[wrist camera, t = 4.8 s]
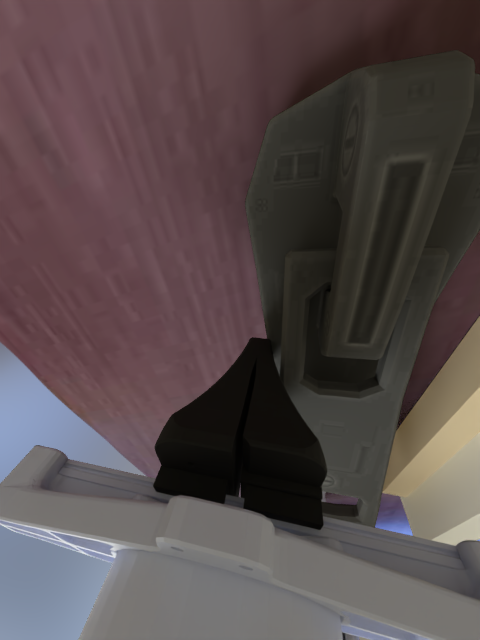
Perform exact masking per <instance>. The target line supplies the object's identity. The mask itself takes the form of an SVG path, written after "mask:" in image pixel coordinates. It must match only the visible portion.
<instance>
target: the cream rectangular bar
mask: <svg viewBox="0 0 480 640" xmlns="http://www.w3.org/2000/svg"><path fill="white" fill-rule="evenodd" d="M382 493H386V494H391V495H396V496H400V498H401V501H402V504H403V507H404V510H405V513H406V516H407V518H408V521H409V524H410V527H411V530H412V533H413V536H414V537H419V538H423V539H428V540H432V541H437V542H441V543H446V544H450V545H454V546H456V545H457V544H458V543H460V542H462V541H465V540H474V541H476V540H479V539H480V316H479V318H478V319H477V320H476V322H475V323H474V324H473V326H472V327H471V329H470V330H469V331H468V333H467V334H466V335H465V337H464V338H463V340H462V341H461V342H460V344H459V345H458V346H457V348H456V349H455V351H454V352H453V353H452V355H451V356H450V358H449V359H448V360H447V362H446V363H445V364H444V366H443V367H442V369H441V370H440V371H439V373H438V374H437V375H436V377H435V378H434V380H433V381H432V382H431V384H430V385H429V386H428V388H427V389H426V391H425V392H424V393H423V395H422V396H421V398H420V399H419V400H418V402H417V403H416V404H415V406H414V407H413V409H412V410H411V411H410V413H409V414H408V415H407V417H406V418H405V420H404V421H403V422H402V424H401V425H400V426H399V428H398V429H397V431H396V433H395V437H394V442H393V446H392V451H391V455H390V460H389V464H388V469H387V473H386V477H385V482H384V486H383V491H382Z"/></svg>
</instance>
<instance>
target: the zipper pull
mask: <svg viewBox="0 0 480 640" xmlns="http://www.w3.org/2000/svg"><path fill="white" fill-rule="evenodd" d="M245 208H246V214H247V220H248V225H249V231H250V237H251V242H252V248H253V254H254V259H255V265H256V271H257V277H258V284H259V290H260V296H261V303H262V309H263V315H264V321H265V328H266V334H267V339H270V340H271V347H272V353H273V357H274V361H275V364H276V367H277V370H278V373H279V375H280V378H281V380H282V383H283V385H284V387H285V389H286V391H287V393H288V395H289V397H290V399H291V400H292V402H293V404H294V405H295V407H296V409H297V410H298V412H299V413H300V415H301V417H302V418H303V419H304V421H305V422H306V424H307V425H308V426H309V428H310V429H311V431H312V432H313V433H314V434H315V436H316V437H317V438H318V440H319V442H320V445H321V448H322V450H323V453H324V457H325V461H326V465H327V476H326V478H325V480H324V482H323V484H322V491H323V492H328V493H334V494H340V495H345V496H350V497H355V498H359V499H358V502H357V505H346V504H332V503H327V502H322V501H321V503H322V513H323V516H325V517H329V518H334V519H338V520H343V521H347V522H352V523H356V524H361V525H365V526H370V527H374V528H375V524H376V520H377V516H378V511H379V507H380V501H381V495H382V491H383V486H384V482H385V477H386V473H387V469H388V464H389V460H390V455H391V451H392V446H393V442H394V437H395V433H396V428H397V424H398V419H399V415H400V411H401V406H402V402H403V397H404V394H405V391H406V388H407V385H408V382H409V379H410V376H411V372H412V369H413V366H414V363H415V360H416V357H417V354H418V351H419V348H420V345H421V342H422V338H423V335H424V332H425V329H426V326H427V323H428V320H429V317H430V314H431V311H432V308H433V305H434V303H435V302H436V300H437V298H438V297H439V295H440V293H441V292H442V290H443V288H444V287H445V285H446V284H447V282H448V280H449V279H450V277H451V275H452V274H453V272H454V270H455V269H456V267H457V265H458V264H459V262H460V261H461V259H462V257H463V256H464V254H465V253H466V251H467V249H468V248H469V246H470V245H471V243H472V241H473V240H474V238H475V237H476V235H477V233H478V232H479V230H480V74H476V73H475V63H474V60H473V59H472V58H470V57H469V56H467V55H465V54H464V53H462V52H460V51H458V50H455V51H449V52H443V53H438V54H432V55H426V56H421V57H415V58H409V59H404V60H398V61H393V62H387V63H381V64H376V65H371V66H367V67H362V68H358V69H355V70H353V71H351V72H349V73H348V74H346V75H344V76H343V77H341V78H339V79H338V80H336V81H334V82H333V83H331V84H329V85H328V86H326V87H324V88H322V89H321V90H319V91H317V92H316V93H314V94H312V95H310V96H309V97H307V98H305V99H304V100H302V101H300V102H298V103H297V104H295V105H293V106H292V107H290V108H288V109H286V110H285V111H283V112H281V113H280V114H278V115H276V116H274V117H273V118H272V119H271V120H270V121H269V123H268V125H267V128H266V132H265V135H264V139H263V142H262V145H261V149H260V152H259V155H258V159H257V162H256V166H255V169H254V172H253V176H252V179H251V183H250V186H249V189H248V193H247V196H246V201H245Z"/></svg>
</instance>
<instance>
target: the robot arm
mask: <svg viewBox="0 0 480 640" xmlns="http://www.w3.org/2000/svg"><path fill="white" fill-rule="evenodd" d="M155 451H156V454H157V456H158V458H159V460H160V463H161V465H162V466H161V468H160V470H159V472H158V475H157V477H156V479H155V478H150V477H146V476H141V475H137V474H132V473H128V472H123V471H119V470H114V469H110V468H106V467H101V466H96V465H92V464H88V463H83V462H79V461H74V460H70V459H68V458H67V456H66V455H65V454H64V453H63V452H61V451H59V450H57V449H53V448H49V447H44V446H40V445H36V446H35V447H34V448H33V449H32V450H31V451H30V452H29V453H28V454H27V455H26V456H25V457H24V459H23V460H22V461H21V462H20V463H19V464H18V465H17V466H16V467H15V468H14V469H13V470H12V472H11V473H10V474H9V475H8V476H7V477H6V478H5V479H4V481H2V482H1V484H0V525H2V526H4V527H6V528H8V529H10V530H12V531H14V532H17V533H21V534H24V535H27V536H31V537H34V538H37V539H40V540H44V541H47V542H50V543H53V544H56V545H59V546H62V547H65V548H68V549H71V550H74V551H77V552H80V553H83V554H86V555H89V556H92V557H95V558H98V559H101V560H104V561H107V562H110V563H113V564H112V566H111V568H110V570H109V573H108V575H107V577H106V579H105V582H104V584H103V586H102V588H101V591H100V593H99V595H98V597H97V599H96V602H95V604H94V606H93V608H92V611H91V613H90V615H89V617H88V620H87V622H86V624H85V626H84V628H83V631H82V633H81V635H80V637H79V640H360V639H359V637H363V638H366V639H370V640H480V541H474V540H465V541H462V542H460V543H458V544H457V545H456V546H454V545H450V544H446V543H441V542H437V541H432V540H428V539H423V538H419V537H414V536H410V535H405V534H401V533H396V532H392V531H387V530H383V529H378V528H374V527H370V526H365V525H361V524H356V523H352V522H347V521H343V520H338V519H334V518H329V517H325V516H323V513H322V503H321V501H322V502H326V499H325V493H326V492H323V491H322V484H323V482H324V480H325V478H326V476H327V465H326V461H325V457H324V453H323V450H322V448H321V445H320V442H319V440H318V438H317V437H316V436H315V434H314V433H313V432H312V431H311V429H310V428H309V426H308V425H307V424H306V422H305V421H304V419H303V418H302V417H301V415H300V413H299V412H298V410H297V409H296V407H295V405H294V404H293V402H292V400H291V399H290V397H289V395H288V393H287V391H286V389H285V387H284V385H283V383H282V380H281V378H280V375H279V373H278V370H277V367H276V364H275V361H274V357H273V353H272V347H271V340H270V339H262V338H253V337H252V338H250V340H249V342H248V344H247V346H246V347H245V349H244V350H243V352H242V353H241V355H240V356H239V357H238V359H237V360H236V361H235V363H234V364H233V365H232V366H231V367H230V369H229V370H228V371H227V372H226V373H225V374H224V375H223V376H222V377H221V378H220V379H219V380H218V381H217V382H216V383H215V384H214V385H213V386H212V387H211V388H209V389H208V390H207V391H206V392H205V393H203V394H202V395H201V396H199V397H198V398H197V399H195V400H194V401H193V402H191V403H190V404H188V405H187V406H185V407H183V408H182V409H180V410H179V411H177V412H176V413H174V414H172V416H171V417H170V418H169V420H168V421H167V423H166V425H165V426H164V428H163V430H162V432H161V434H160V436H159V438H158V440H157V442H156V444H155ZM240 483H241V498H240V497H239V490H240Z"/></svg>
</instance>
